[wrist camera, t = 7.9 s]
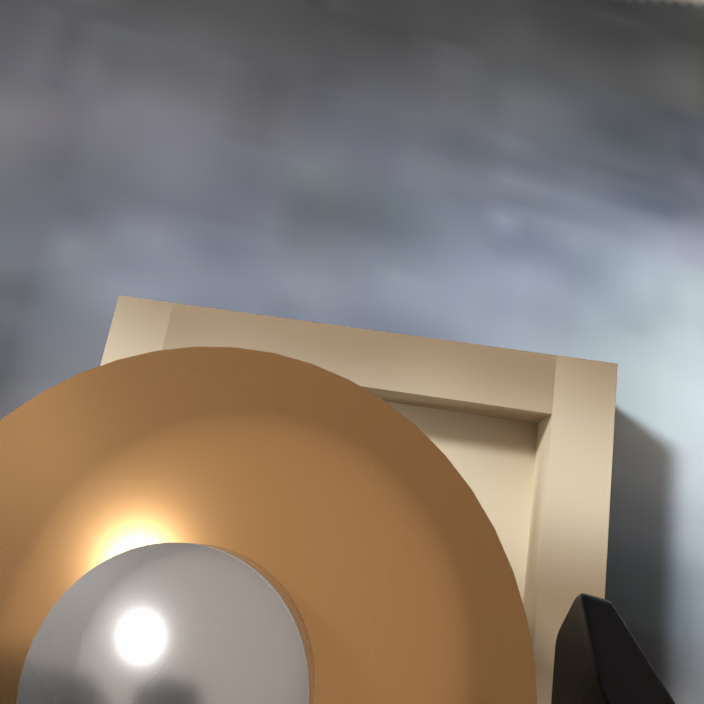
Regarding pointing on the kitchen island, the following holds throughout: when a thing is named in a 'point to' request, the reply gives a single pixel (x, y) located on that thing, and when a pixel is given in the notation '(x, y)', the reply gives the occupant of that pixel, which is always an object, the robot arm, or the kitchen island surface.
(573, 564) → the shallow square beige tray
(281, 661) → the lidded storage canister
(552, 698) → the robot arm
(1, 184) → the kitchen island surface
